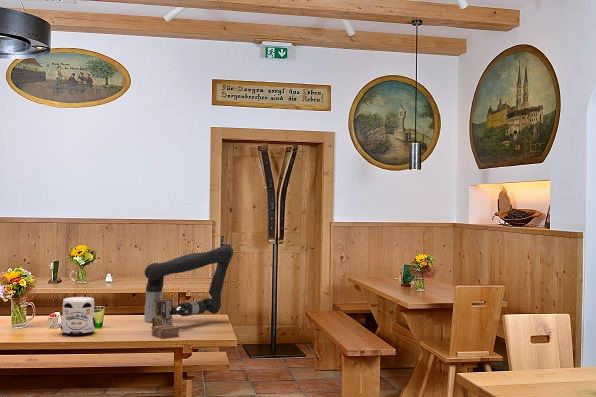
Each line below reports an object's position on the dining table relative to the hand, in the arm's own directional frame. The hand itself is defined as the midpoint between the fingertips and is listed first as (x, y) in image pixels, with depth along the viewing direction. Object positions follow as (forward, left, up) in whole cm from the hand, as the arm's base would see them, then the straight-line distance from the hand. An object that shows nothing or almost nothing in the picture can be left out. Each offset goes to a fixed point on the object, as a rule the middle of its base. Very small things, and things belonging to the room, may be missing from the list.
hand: (165, 311), depth 382 cm
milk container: (-21, -39, -10) cm, 46 cm away
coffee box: (0, -1, -10) cm, 10 cm away
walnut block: (+13, -9, -10) cm, 19 cm away
